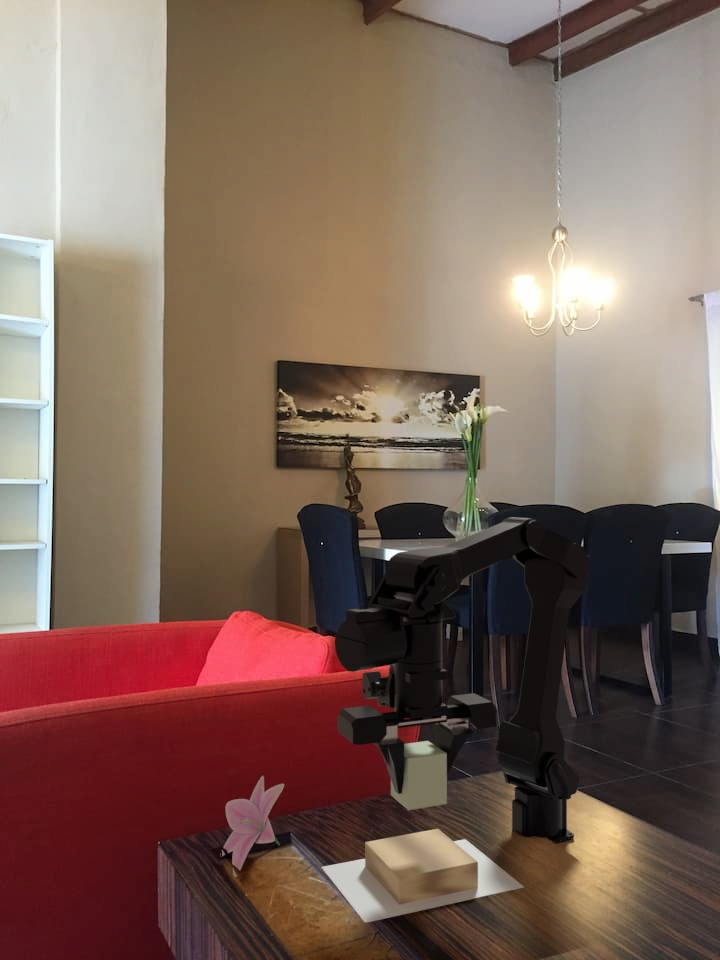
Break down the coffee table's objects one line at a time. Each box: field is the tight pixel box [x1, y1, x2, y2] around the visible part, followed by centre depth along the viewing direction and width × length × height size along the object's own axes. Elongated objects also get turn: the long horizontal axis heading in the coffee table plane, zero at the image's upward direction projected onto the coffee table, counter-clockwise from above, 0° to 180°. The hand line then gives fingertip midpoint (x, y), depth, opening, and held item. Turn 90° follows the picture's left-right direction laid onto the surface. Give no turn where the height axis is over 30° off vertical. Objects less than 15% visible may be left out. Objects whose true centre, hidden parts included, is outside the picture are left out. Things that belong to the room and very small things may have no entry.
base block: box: [364, 828, 478, 905], centre depth 104 cm, size 10×10×3 cm
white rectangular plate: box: [320, 838, 525, 924], centre depth 104 cm, size 20×14×1 cm
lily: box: [221, 775, 285, 878], centre depth 111 cm, size 12×12×10 cm
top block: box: [390, 740, 448, 811], centre depth 104 cm, size 5×5×6 cm
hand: (418, 789), depth 104 cm, fingers closed on top block, 5 cm apart
